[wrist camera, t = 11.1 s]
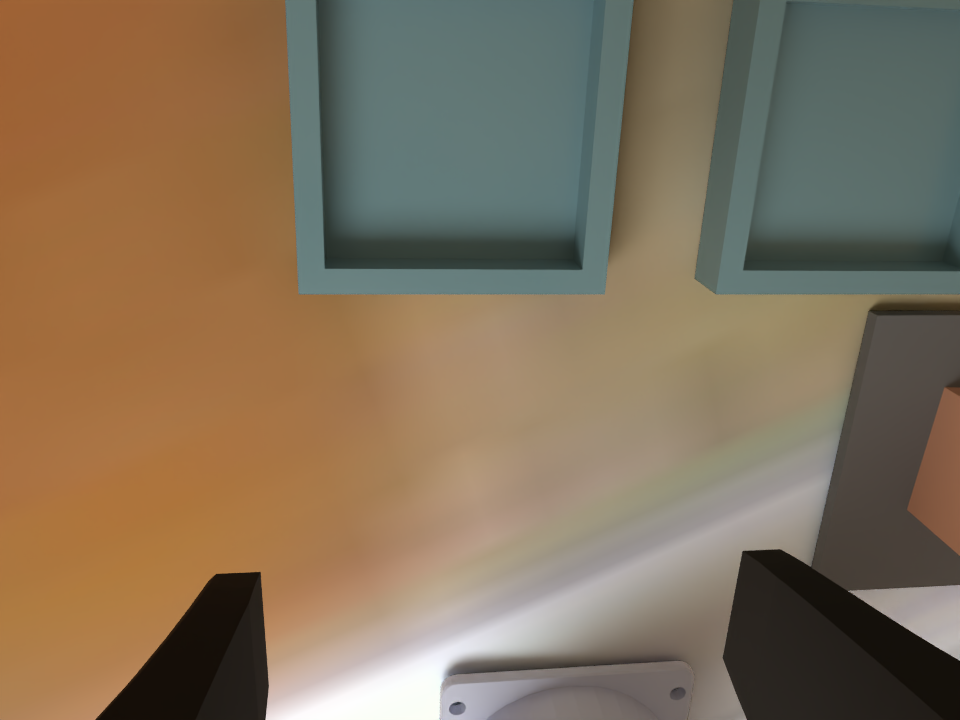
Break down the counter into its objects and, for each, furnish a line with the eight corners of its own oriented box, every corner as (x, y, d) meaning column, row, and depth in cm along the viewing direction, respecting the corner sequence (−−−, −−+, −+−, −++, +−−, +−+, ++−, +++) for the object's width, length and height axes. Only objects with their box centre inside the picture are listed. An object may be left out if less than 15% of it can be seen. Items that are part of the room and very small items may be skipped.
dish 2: (947, 279, 22) (983, 294, 21) (694, 278, 21) (715, 294, 20) (1022, -12, 19) (1068, -15, 18) (737, -27, 18) (765, -32, 17)
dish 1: (590, 278, 21) (604, 294, 19) (303, 277, 20) (298, 294, 18) (618, -34, 18) (637, -39, 17) (289, -51, 17) (282, -59, 16)
